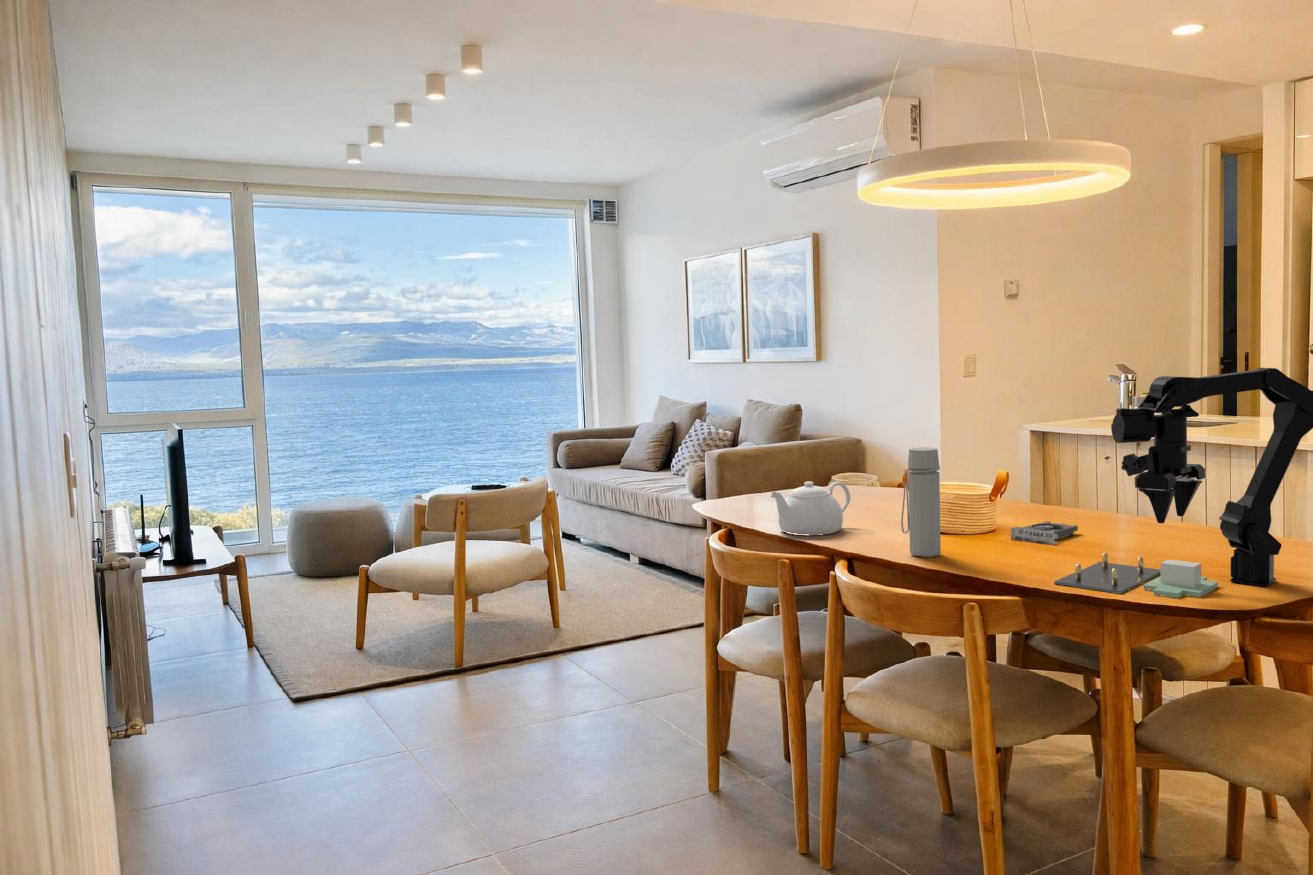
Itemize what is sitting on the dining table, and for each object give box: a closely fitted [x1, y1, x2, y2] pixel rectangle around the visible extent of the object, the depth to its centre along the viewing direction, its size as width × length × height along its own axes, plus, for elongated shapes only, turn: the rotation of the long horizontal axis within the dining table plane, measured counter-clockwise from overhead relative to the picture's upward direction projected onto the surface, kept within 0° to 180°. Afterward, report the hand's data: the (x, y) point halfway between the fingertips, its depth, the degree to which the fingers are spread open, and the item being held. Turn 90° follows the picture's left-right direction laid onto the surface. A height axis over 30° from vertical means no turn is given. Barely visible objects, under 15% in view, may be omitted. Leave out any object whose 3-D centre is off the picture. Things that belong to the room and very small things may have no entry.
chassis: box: [1054, 552, 1161, 595], centre depth 200 cm, size 13×22×4 cm, turn 133°
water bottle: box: [900, 447, 942, 558], centre depth 229 cm, size 9×8×25 cm
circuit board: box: [1143, 559, 1219, 599], centre depth 190 cm, size 10×16×5 cm, turn 133°
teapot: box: [770, 481, 851, 535], centre depth 264 cm, size 19×18×14 cm
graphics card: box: [1010, 521, 1079, 546], centre depth 243 cm, size 17×4×12 cm
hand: (1170, 519), depth 192 cm, fingers open, 9 cm apart
